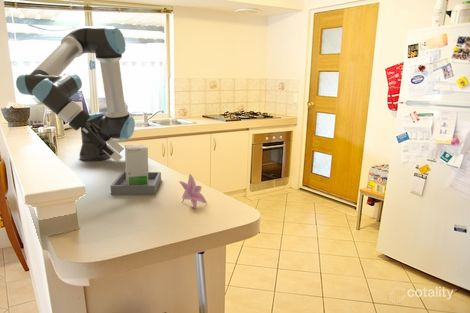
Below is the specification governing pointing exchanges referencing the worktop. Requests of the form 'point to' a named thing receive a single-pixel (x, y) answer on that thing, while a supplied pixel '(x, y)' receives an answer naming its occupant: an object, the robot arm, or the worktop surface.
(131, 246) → the worktop surface
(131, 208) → the worktop surface
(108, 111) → the robot arm
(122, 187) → the tray
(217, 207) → the worktop surface
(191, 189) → the lily
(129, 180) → the skincare box
